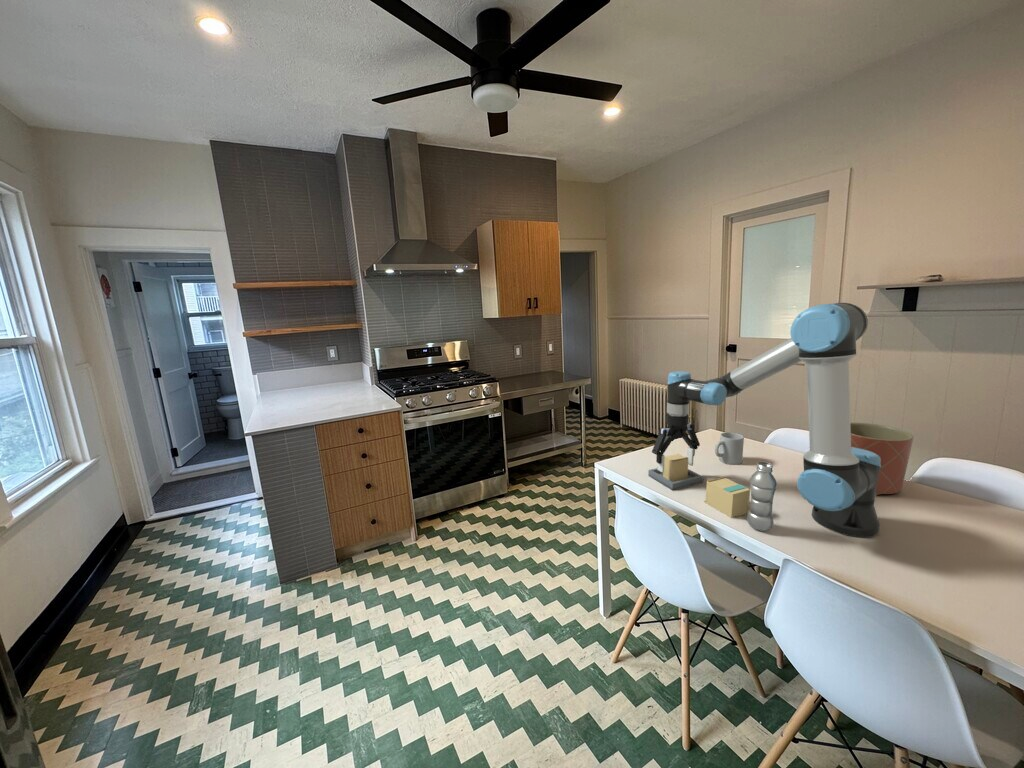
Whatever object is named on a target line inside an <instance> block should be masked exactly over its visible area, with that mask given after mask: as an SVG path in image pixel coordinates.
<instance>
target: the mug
mask: <svg viewBox="0 0 1024 768" xmlns="http://www.w3.org/2000/svg"><path fill="white" fill-rule="evenodd" d="M744 443H745V437H744V435H742V434H740V433H736V432H721V434H720V437H719V441H717V442H716V444H715V448H714V453H715V456H716V457H718V460H719V461H720V462H721V463H723V464H727V465H732V466H737V465H740V464H742V463H743V457H744V456H743V455H744V454H743V453H744Z"/></svg>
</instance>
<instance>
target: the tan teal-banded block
mask: <svg viewBox="0 0 1024 768" xmlns="http://www.w3.org/2000/svg"><path fill="white" fill-rule="evenodd" d="M750 497H751V488H750V489H749V488H747V487H746V486H744V485H742V484H740V483H737V482H735V481H732V480H730V479H728V478H726V477H725V476H721V477H718V478H712V479H709V480H706V491H705V500H704V501H703V502H704V503H705V504H707V505H708V506H710V507H712V508H713V509H716V511H719V512H720V513H722V514H724V515H725V514H726V516H727V517H729V518H730V519H732V517H733V518H736V517H740V516H742V515H747V514H748V511H749V508H750ZM739 515H740V516H739ZM735 516H736V517H735Z"/></svg>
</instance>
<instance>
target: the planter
mask: <svg viewBox="0 0 1024 768" xmlns="http://www.w3.org/2000/svg"><path fill="white" fill-rule="evenodd" d="M850 426H851V447H855V448H859V449H864V450H867V451H870V452H873V453H875V454H877V455H879V457H880V458H881V468H880V471H879V477H878V484H877V490H876V496H878V495H894V494H897V493H900V492H902V489H903V485H904V481H905V477H906V472H907V469H908V465H909V464H908V463H909V459H910V455H911V450H912V447H913V442H914V435H913V434H912V433H910V432H908V431H906V430H903V429H900V428H897V427H892V426H889V425H883V424H877V423H870V422H867V423H866V422H850Z"/></svg>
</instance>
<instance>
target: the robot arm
mask: <svg viewBox="0 0 1024 768" xmlns="http://www.w3.org/2000/svg"><path fill="white" fill-rule="evenodd" d="M868 326H869V319H868V316H867V314H866V312H865V311H864V310H863V308H862V307H860V306H858V305H856V304H853V303H849V302H836V303H822V304H818V305H814V306H811V307H808V308H806V309H805V310H803V311H801V312H800V313H799V314H797V315H796V317H795V318H794V320H793V322H792V323H791V326H790V331H789V332H790V333H789V334H790V338H788V339H786V340H785V341H783V342H781V343H780V344H777V345H776V346H774V347H772V348H771V349H769V350H767V351H765V352H763V353H762V354H760V355H758V356H756V357H754V358H752V359H751V360H749V361H747V362H745V363H744V364H742V365H739V366H738V367H736V368H735V369H732V370H731V371H729V372H728V373H726V374H724V375H721V376H720V377H717V378H716V377H715V378H712V379H709V380H698V379H697V380H696V379H693V378H692V377H691V373H690V372H688V371H682V370H681V371H679V370H678V371H677V370H676V371H671V372H669V373H668V377H667V383H666V384H667V390H666V391H667V393H666V395H667V398H666V399H667V400H666V417H665V418H666V419H665V420H666V421H665V422H666V425H667V427H666V428H663V427H660V428H659V433H658V435H657V438H656V441H655V442H654V446H653V447H652V450H651V453H652V454H654V455H655V456H656V463H657V467H656V468H657V470H659V471H661V472H662V473H663V472H664V460H665V457H666V456H665V454H664V453H665V452H666V451H667V449H668V448H669V446H670V445H671V443H672V442H674V440H678V439H682V440H684V442H685V444H687V446H688V447H686V457H688V466H691V467H692V466H694V457H695V454H696V450H698V449H699V448H698V447H700V445H701V444H700V442H699V438H698V436H697V434H696V430H695V425H694V424H692V423H690V422H689V420H690V416H689V413H690V401H691V402H695V403H700V404H705V405H707V406H721V405H722V404H723V403H724V402H725V400H726V398H729V397H731V398H733V397H735V396H737V395H738V394H740V393H741V392H742V391H744V390H746V389H748V388H751V387H752V386H754V385H756V384H758V383H760V382H762V381H764V380H766V379H769V378H770V377H772V376H774V375H776V374H778V373H780V372H782V371H785V370H786V369H789V368H790V367H792V366H795V365H797V364H798V363H800V362H803V363H805V365H806V366H805V367H806V386H807V387H806V389H807V410H808V412H807V413H808V430H809V431H808V432H809V434H808V436H809V438H808V439H809V450H808V451H806V452H805V453H804V454H803V457H802V459H803V472H801V473H800V474H799V476H798V477H797V478H798V479H797V483H796V485H797V486H796V487H797V490H798V492H799V493H800V495H801V497H802V498H803V499H804V500H806V501H807V502H808V503H809V504H810V505H812V506H813V507H812V511H811V517H812V519H813V520H814V521H815V523H817V524H819V525H820V526H822V527H823V528H826V529H828V530H830V531H833V532H834V533H838V534H842V535H844V536H845V535H846V536H848V537H849V536H850V537H855V538H871V537H875V536H877V535H878V534H879V530H880V526H881V525H880V521H879V517H878V514H877V510H876V507H875V501H876V496H877V495H876V490H877V484H878V477H879V471H880V468H881V458H880V457H879V455H877V454H875V453H873V452H870V451H867V450H864V449H859V448H855V447H851V426H850V423H851V402H850V401H851V399H850V398H851V397H850V395H851V394H850V367H849V366H850V365H849V362H850V361H851V360H853V359H854V358H855V357H856V356H857V341H858V340H860V339H861V338H862V337H863V336H864V334H865V333H866V332H867V330H868Z"/></svg>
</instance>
